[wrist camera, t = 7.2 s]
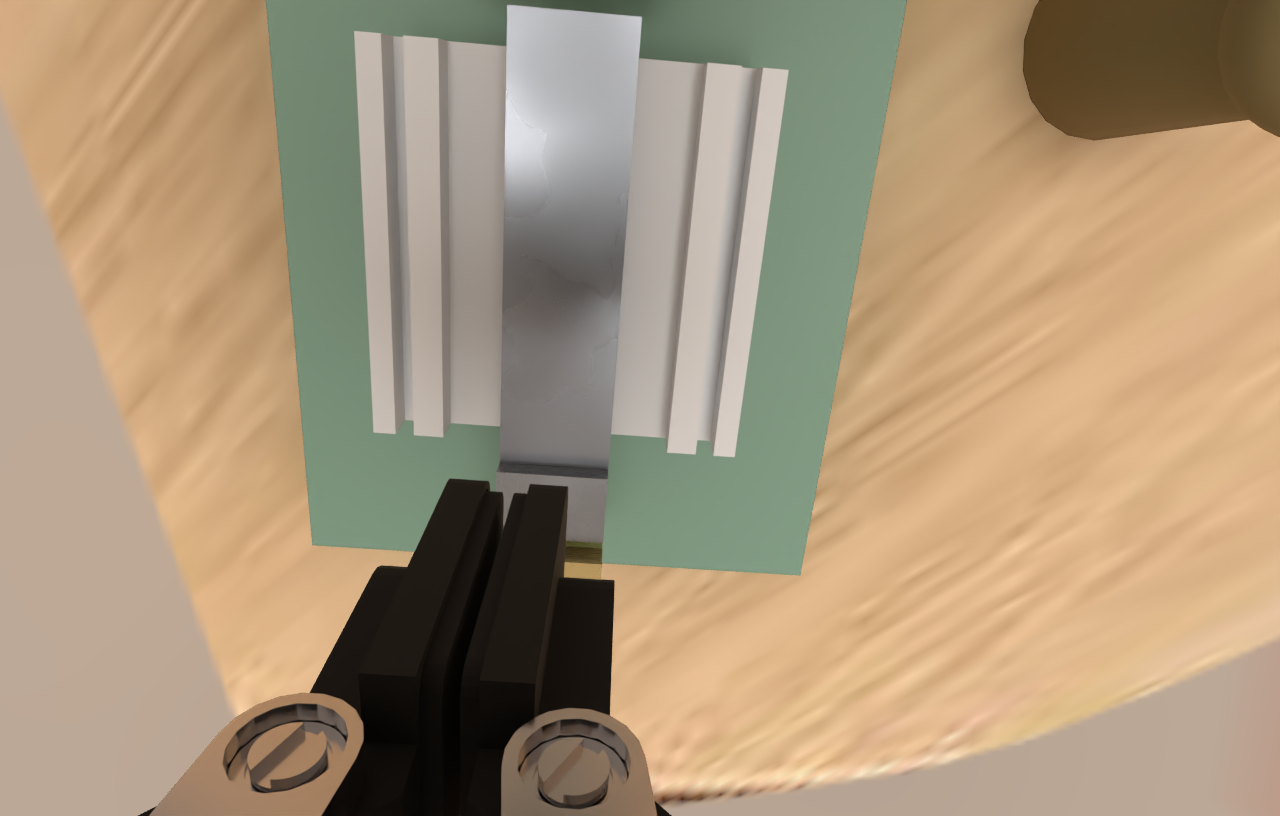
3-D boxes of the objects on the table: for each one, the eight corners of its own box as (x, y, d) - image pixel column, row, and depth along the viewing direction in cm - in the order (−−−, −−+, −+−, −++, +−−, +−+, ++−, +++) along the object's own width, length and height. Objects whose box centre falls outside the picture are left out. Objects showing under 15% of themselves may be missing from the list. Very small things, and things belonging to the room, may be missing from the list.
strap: (514, 9, 19) (503, 1, 17) (641, 21, 19) (642, 14, 17) (504, 504, 24) (495, 536, 22) (605, 511, 24) (603, 543, 22)
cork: (1005, 137, 27) (1240, 167, 16) (1045, -69, 24) (1345, -184, 14) (1181, 142, 27) (1523, 174, 17) (1237, -62, 24) (1671, -172, 14)
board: (289, -232, 23) (107, -406, 15) (906, -168, 23) (1049, -300, 15) (340, 505, 31) (243, 643, 24) (785, 533, 32) (836, 677, 24)
